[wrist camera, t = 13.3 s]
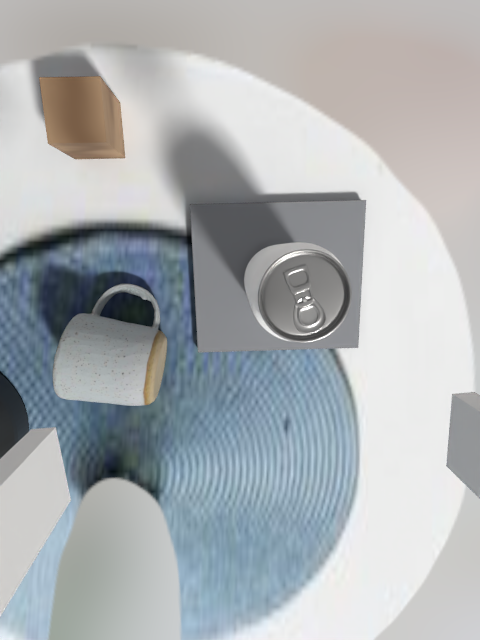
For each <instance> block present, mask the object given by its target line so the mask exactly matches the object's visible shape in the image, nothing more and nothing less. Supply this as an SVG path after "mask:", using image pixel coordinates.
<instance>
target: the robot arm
mask: <svg viewBox="0 0 480 640" xmlns="http://www.w3.org/2000/svg"><path fill="white" fill-rule="evenodd" d="M446 466H447V467H448V468H449V469H450V470H451V471H452V472H453V473H454V474H455V475H456V476H457V477H458V478H459V479H460V480H461V481H462V482H463V483H464V484H465V485H466V486H467V487H468V488H469V489H470V490H472V492H474V493H475V494H476V495H477V496H478V497H479V498H480V395H478V394H477V393H475V392H471V393H459V394H452V404H451V416H450V428H449V440H448V453H447V465H446ZM70 501H71V499H70V494H69V489H68V484H67V479H66V474H65V470H64V465H63V460H62V455H61V450H60V446H59V441H58V436H57V431H56V427H53V428H41V429H31V430H30V431H29V423H28V417H27V413H26V409H25V407H24V404H23V402H22V400H21V398H20V396H19V394H18V393H17V391H16V390H15V389H14V387H13V386H12V385H11V384H10V382H9V381H8V380H7V379H6V378H5V377H4V376H2V375H1V374H0V616H1V615H2V613H3V611H4V610H5V608H6V606H7V605H8V603H9V602H10V600H11V598H12V597H13V595H14V593H15V592H16V590H17V588H18V587H19V585H20V583H21V582H22V580H23V578H24V577H25V575H26V573H27V572H28V570H29V569H30V567H31V565H32V564H33V562H34V560H35V559H36V557H37V555H38V554H39V552H40V550H41V549H42V547H43V545H44V544H45V542H46V541H47V539H48V537H49V536H50V534H51V532H52V531H53V529H54V527H55V526H56V524H57V522H58V521H59V519H60V517H61V516H62V514H63V512H64V511H65V509H66V508H67V506H68V504H69V503H70Z"/></svg>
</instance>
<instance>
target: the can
mask: <svg viewBox="0 0 480 640" xmlns="http://www.w3.org/2000/svg"><path fill="white" fill-rule="evenodd" d="M244 285H245V290H246V294H247V297H248V300H249V303H250V306H251V309H252V311H253V313H254V315H255V317H256V319H257V321H258V322H259V323H260V325H261V326H262V327H263V328H264V329H265V330H266V331H268V332H269V333H270V334H272V335H274V336H275V337H277V338H280V339H283V340H286V341H292V342H299V343H306V342H313V341H317V340H320V339H322V338H324V337H326V336H328V335H329V334H331V333H332V332H334V331H335V330H336V329H337V328H338V327H339V326H340V325H341V323H342V322H343V321H344V319H345V317H346V315H347V313H348V311H349V308H350V304H351V298H352V290H351V283H350V280H349V277H348V275H347V273H346V271H345V269H344V267H343V266H342V264H341V263H340V261H339V260H338V259H337V258H336V257H335V256H334V255H333V254H332V253H331V252H329V251H328V250H326V249H324V248H322V247H320V246H318V245H315V244H311V243H302V242H296V243H285V244H277V245H272V246H268V247H266V248H264V249H262V250H260V251H259V252H257V253H256V254H255V255H254V256H253V257H252V259H251V260H250V262H249V263H248V265H247V268H246V271H245V275H244Z"/></svg>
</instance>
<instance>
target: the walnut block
mask: <svg viewBox="0 0 480 640" xmlns="http://www.w3.org/2000/svg"><path fill="white" fill-rule="evenodd" d="M39 80H40V88H41V95H42V103H43V110H44V117H45V125H46V132H47V140H48V144H50V145H51V146H53V147H55V148H57V149H58V150H60V151H62V152H64V153H65V154H67V155H69V156H71V157H72V158H74V159H108V158H125V151H124V140H123V129H122V118H121V107H120V102H119V100H118V99H117V98H116V97H115V95H114V94H113V93H112V91H111V90H110V89H109V87H108V86H107V85H106V84H105V82H104V81H103V80H102V78H101V77H100V76H94V77H39Z"/></svg>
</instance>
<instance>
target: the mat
mask: <svg viewBox="0 0 480 640" xmlns="http://www.w3.org/2000/svg"><path fill="white" fill-rule="evenodd" d="M365 210H366V200H349V201H308V202H267V203H226V204H190V214H191V233H192V251H193V269H194V287H195V305H196V323H197V342H198V352H227V351H261V350H295V349H329V348H358V340H359V322H360V303H361V284H362V266H363V247H364V229H365ZM296 242H302V243H311V244H315V245H318V246H320V247H322V248H324V249H326V250H328V251H329V252H331V253H332V254H333V255H334V256H335V257H336V258H337V259H338V260H339V261H340V263H341V264H342V266H343V267H344V269H345V271H346V273H347V275H348V277H349V280H350V283H351V290H352V298H351V304H350V308H349V311H348V313H347V315H346V317H345V319H344V321H343V322H342V323H341V325H340V326H339V327H338V328H337V329H336V330H335V331H334V332H332V333H331V334H329V335H328V336H326V337H324V338H322V339H320V340H317V341H313V342H306V343H299V342H292V341H286V340H283V339H280V338H277V337H275V336H274V335H272V334H270V333H269V332H268V331H266V330H265V329H264V328H263V327H262V326H261V325H260V323H259V322H258V321H257V319H256V317H255V315H254V313H253V311H252V309H251V306H250V303H249V300H248V297H247V294H246V290H245V285H244V275H245V271H246V268H247V265H248V263H249V262H250V260H251V259H252V257H253V256H254V255H255V254H256V253H257V252H259V251H260V250H262V249H264V248H266V247H268V246H272V245H277V244H285V243H296Z"/></svg>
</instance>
